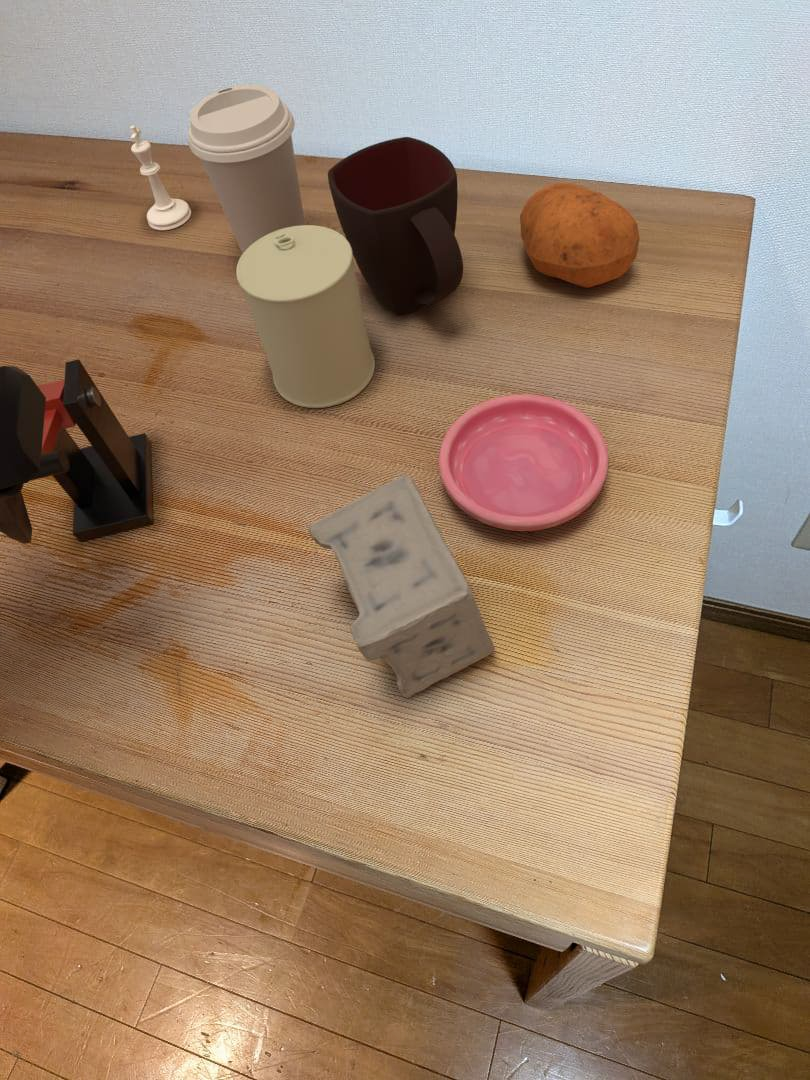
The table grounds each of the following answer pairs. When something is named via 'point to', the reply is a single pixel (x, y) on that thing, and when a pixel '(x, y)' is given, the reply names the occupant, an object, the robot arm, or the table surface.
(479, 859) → the table surface
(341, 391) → the can
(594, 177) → the table surface
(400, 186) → the mug
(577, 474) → the saucer
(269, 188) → the coffee cup
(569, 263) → the potato
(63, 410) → the lever
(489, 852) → the table surface
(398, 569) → the incense holder
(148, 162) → the chess piece
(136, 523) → the bracket
